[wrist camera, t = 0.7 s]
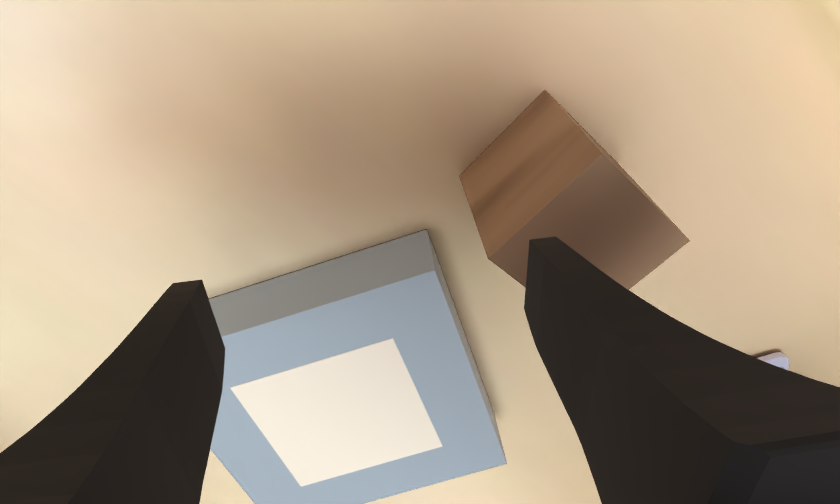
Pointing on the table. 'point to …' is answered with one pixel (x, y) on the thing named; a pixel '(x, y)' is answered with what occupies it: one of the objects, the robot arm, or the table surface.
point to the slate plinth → (350, 381)
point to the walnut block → (564, 199)
